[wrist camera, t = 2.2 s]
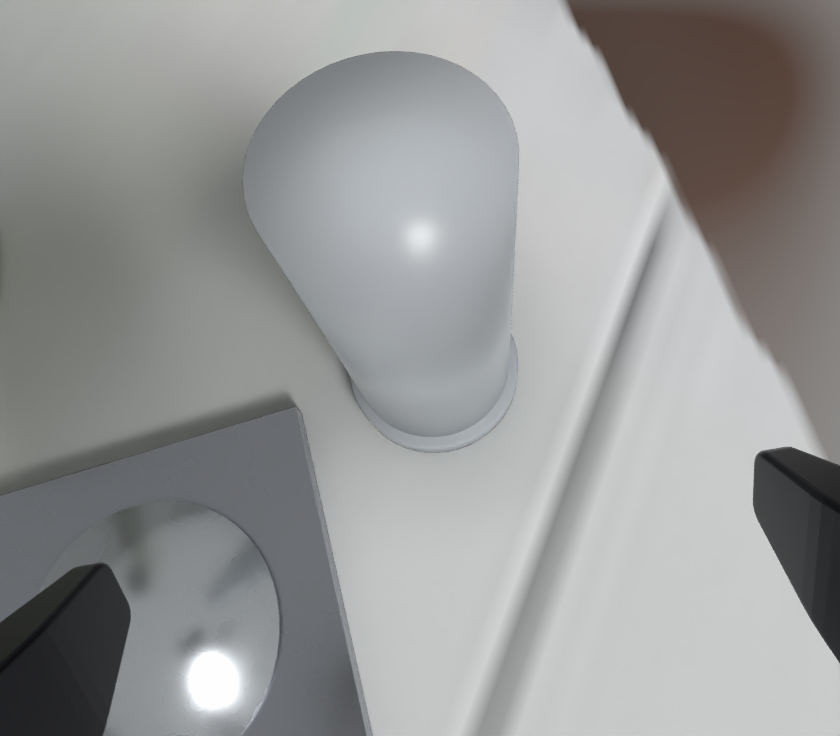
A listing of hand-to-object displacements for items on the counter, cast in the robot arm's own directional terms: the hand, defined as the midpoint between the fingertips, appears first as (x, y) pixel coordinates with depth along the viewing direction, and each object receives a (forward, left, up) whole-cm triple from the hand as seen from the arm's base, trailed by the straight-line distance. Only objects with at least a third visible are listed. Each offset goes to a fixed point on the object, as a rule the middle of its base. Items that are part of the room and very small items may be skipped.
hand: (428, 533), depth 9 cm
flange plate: (+1, +10, -13) cm, 16 cm away
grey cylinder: (+7, -1, -13) cm, 15 cm away
